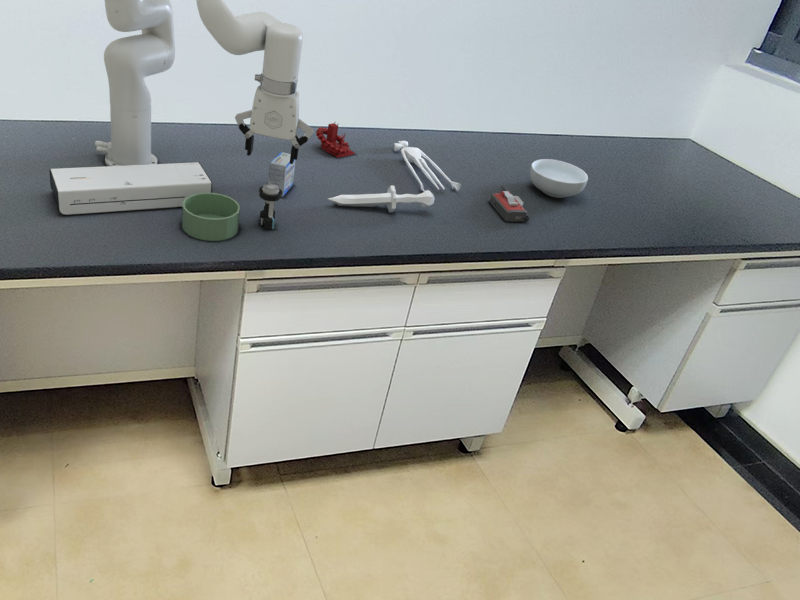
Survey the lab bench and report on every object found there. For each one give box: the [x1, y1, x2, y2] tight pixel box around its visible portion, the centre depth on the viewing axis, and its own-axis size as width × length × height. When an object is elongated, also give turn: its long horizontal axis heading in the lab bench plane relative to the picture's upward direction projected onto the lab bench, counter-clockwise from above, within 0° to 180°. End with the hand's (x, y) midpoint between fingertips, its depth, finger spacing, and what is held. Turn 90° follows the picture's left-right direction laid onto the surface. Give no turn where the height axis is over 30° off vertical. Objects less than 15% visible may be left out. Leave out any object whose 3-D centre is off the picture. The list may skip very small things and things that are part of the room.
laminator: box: [48, 162, 213, 216], centre depth 180 cm, size 34×12×6 cm, turn 118°
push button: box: [258, 183, 282, 230], centre depth 180 cm, size 7×5×10 cm
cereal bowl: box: [529, 158, 589, 199], centre depth 227 cm, size 17×17×7 cm
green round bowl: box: [181, 192, 241, 242], centre depth 175 cm, size 13×13×6 cm
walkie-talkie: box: [489, 184, 531, 223], centre depth 214 cm, size 9×4×20 cm
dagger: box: [327, 185, 435, 213], centre depth 198 cm, size 8×6×28 cm
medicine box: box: [267, 151, 296, 198], centre depth 196 cm, size 8×4×9 cm, turn 168°
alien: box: [393, 140, 462, 192], centre depth 224 cm, size 12×32×5 cm, turn 24°
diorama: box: [315, 122, 356, 159], centre depth 223 cm, size 11×12×8 cm
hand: (270, 157), depth 174 cm, fingers open, 9 cm apart
